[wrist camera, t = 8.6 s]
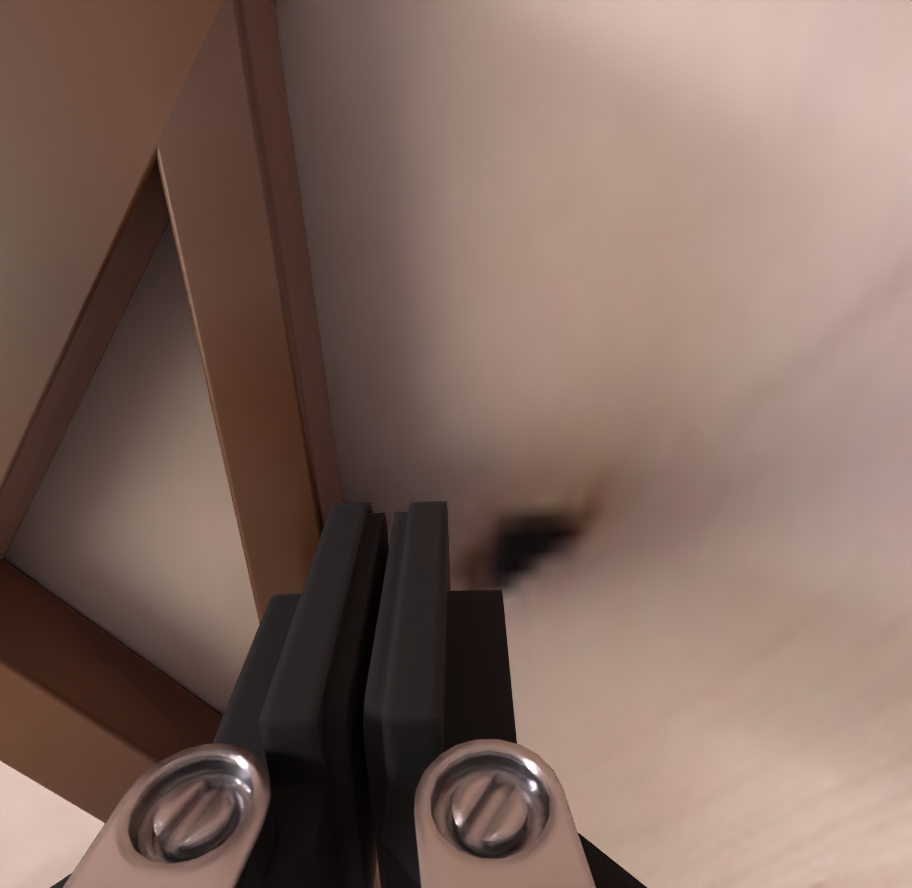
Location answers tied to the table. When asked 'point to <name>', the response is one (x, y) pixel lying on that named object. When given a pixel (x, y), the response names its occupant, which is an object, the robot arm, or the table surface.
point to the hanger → (99, 310)
